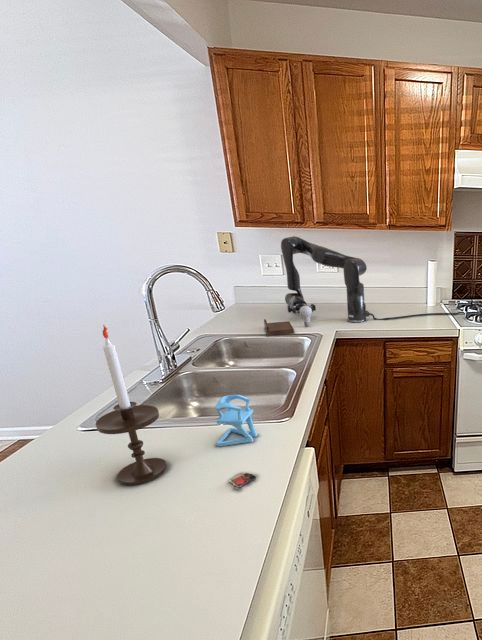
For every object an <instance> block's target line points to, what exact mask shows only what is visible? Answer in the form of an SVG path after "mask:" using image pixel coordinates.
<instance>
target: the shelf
mask: <svg viewBox="0 0 482 640" xmlns="http://www.w3.org/2000/svg"><path fill="white" fill-rule="evenodd" d="M263 326H264V330H265V333H266V336H267V337H274V336H275V337H276V336H285V335H294V334H295V329H294V327H293V325H292V323H291V321H289V320H287V321H286V320H285V321H276V322H268V321H267V319H265V318H264V319H263Z"/></svg>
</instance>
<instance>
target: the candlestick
mask: <svg viewBox="0 0 482 640" xmlns="http://www.w3.org/2000/svg"><path fill="white" fill-rule="evenodd" d="M102 326H103V329H102V336H103V338H104V339H105V340H104V341H105V343H104V345H103V346H102V348H103V349H102V350H103V352H104V356H105V360H106V363H107V367H108V371H109V374H110V379H111V382H112V385H113V389H114V392H115V395H116V400H117V403H118V404H116V405H115V406H113V410H112V411H110V412H108V413H105V414H103V415H102V416H100V417H99V418H98V419H97V420H96V422H95V428H96V431H97V432H99V433H100V434H104V435H120V434H127V433H128V436H129V441H130V442H129V443H128V444H127V448H128V450H130V451H132V453H131V455H130V456H131V458H132V459H133V458H134V459H135V461H134V462H131V463H129V464H127V465H125V466H124V467H123V468H122V469H121V470H119V472H118V473H117V481H118V482H119V484H121V485H123V486H127V487H131V486H133V487H134V486H140V485H143V484H147V483H149V482H152V481H154V480H156V479H158V478H159V477H161V476H162V475H163V474H164V473H165V472H166V471H167V468H168V466H167V462H166V460H165V459H163V458H160V457H148V458H144V455H145V454H146V451H145V450H144V449H142V447H143V446H144V441H143V440H141V439H139V437H138V434H137V431H138V430H141V429H143V428H146V427H148V426H150V425H152V424H153V423H155V422H156V421H157V420H158V419H159V417H160V412H159V409H158V407H156V406H154V405H151V404H150V405H148V404H140V405H138V404H137V402H135V401H130V397H129V394H128V390H127V386H126V383H125V379H124V375H123V371H122V368H121V363H120V360H119V355H118V353H117V349H116V345H115V344H112V343H111V341H110V339H109V334H108V327H106V325H105V324H103V325H102Z"/></svg>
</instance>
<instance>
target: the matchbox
mask: <svg viewBox="0 0 482 640" xmlns="http://www.w3.org/2000/svg"><path fill="white" fill-rule="evenodd" d="M256 478H257V476H256V475H254V474H253V473H250V472H244V473H238V474H236V475H235V476H234V477H232V479H230V480H229V482H230V483H231V484H232V485H233V486H234V489H235V490H239V488H241V487H242V486H244V485H245V484H248V483H249V482H252V481H253V480H255V479H256Z"/></svg>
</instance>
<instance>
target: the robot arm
mask: <svg viewBox="0 0 482 640" xmlns="http://www.w3.org/2000/svg"><path fill="white" fill-rule="evenodd" d="M280 249H281V254H282V259H283V263H284V267H285V271H286V284H287V289H288V290H289V291H293V292H288V293H286V294H285V296H284V301H285V303H286V305H287V306H286V308H287V312H288V313H289V314H290V313H292V314H297V313H298V314H300V308H301V307H302V306H309V307H310V308H311V309H312V313H314V312H315V311H317V308H316V307H317V306H316V304H314V303H311V304H307V302H306V300H305V297H304V295H303V292H302V289H301V278H300V273H299V271H298V269H297V267H296V265H295V262H294V255H296V254H302V255H306V256H309V257H310V259H311V260H312V261H313V262H315V263H317V264H319V265H322V266H325V267H330V268H339V269H342V271H343V279H344V284H345V285H344V286H345V288H346V309H347V322H350V323H362V322H367V317H369V318H370V316H371V317H372V319H373V320H375V321H388V320H396V319H397V320H398V319H404V318H412V317H421V316H422V317H423V316H436V315H439V316H441V315H442V316H443V315H449V316H450V315H452V316H453V315H455V316H456V315H460V314H464V315H465V313H466V312H465V311H457V312H430V313H429V312H428V313H427V312H426V313H418V314H417V313H416V314H407V315H400V316H393V317H384V318H378V317H375V315H374V314H373V313H371V312H370V311H368V310H367V308H366V307H367V304H366V302H365V285H364V283H363V282H361V280H360V276H363V275H364V274H365V273H366V272H367V269H368V268H367V264H366V262H365V261H364V260H363V259H361V258H360V257H354V256H350V255H347V254H344V253H342V252H338V251H335V250H333V249H330V248H328V247H325V246H322V245H319V244H315V243H312V242H309V241H307V240H305V239H303V238H301V237H300V236H289V237H284V238H282V239H281V241H280ZM464 312H465V313H464Z"/></svg>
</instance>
